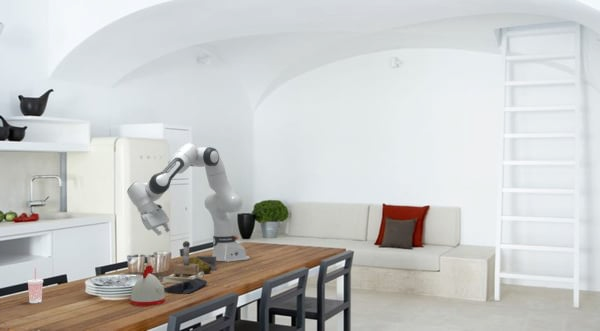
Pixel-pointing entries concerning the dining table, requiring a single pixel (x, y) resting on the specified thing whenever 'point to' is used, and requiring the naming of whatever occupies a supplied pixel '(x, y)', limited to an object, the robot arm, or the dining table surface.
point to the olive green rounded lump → (200, 264)
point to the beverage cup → (35, 289)
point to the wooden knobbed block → (186, 263)
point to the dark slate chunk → (186, 286)
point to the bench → (178, 277)
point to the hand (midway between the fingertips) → (164, 233)
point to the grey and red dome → (147, 290)
